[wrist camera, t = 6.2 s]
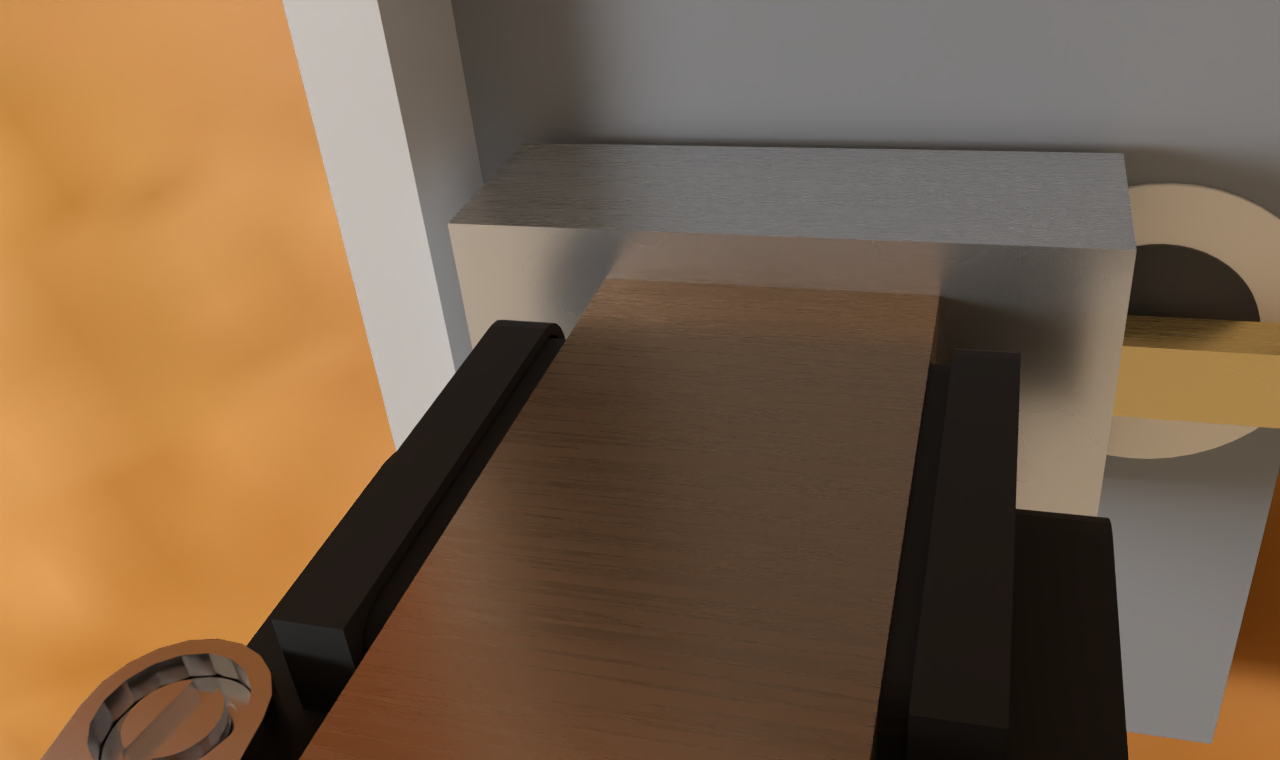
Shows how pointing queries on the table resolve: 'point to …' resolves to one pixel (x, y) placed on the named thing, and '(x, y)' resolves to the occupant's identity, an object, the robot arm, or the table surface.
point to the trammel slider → (754, 436)
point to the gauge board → (857, 119)
